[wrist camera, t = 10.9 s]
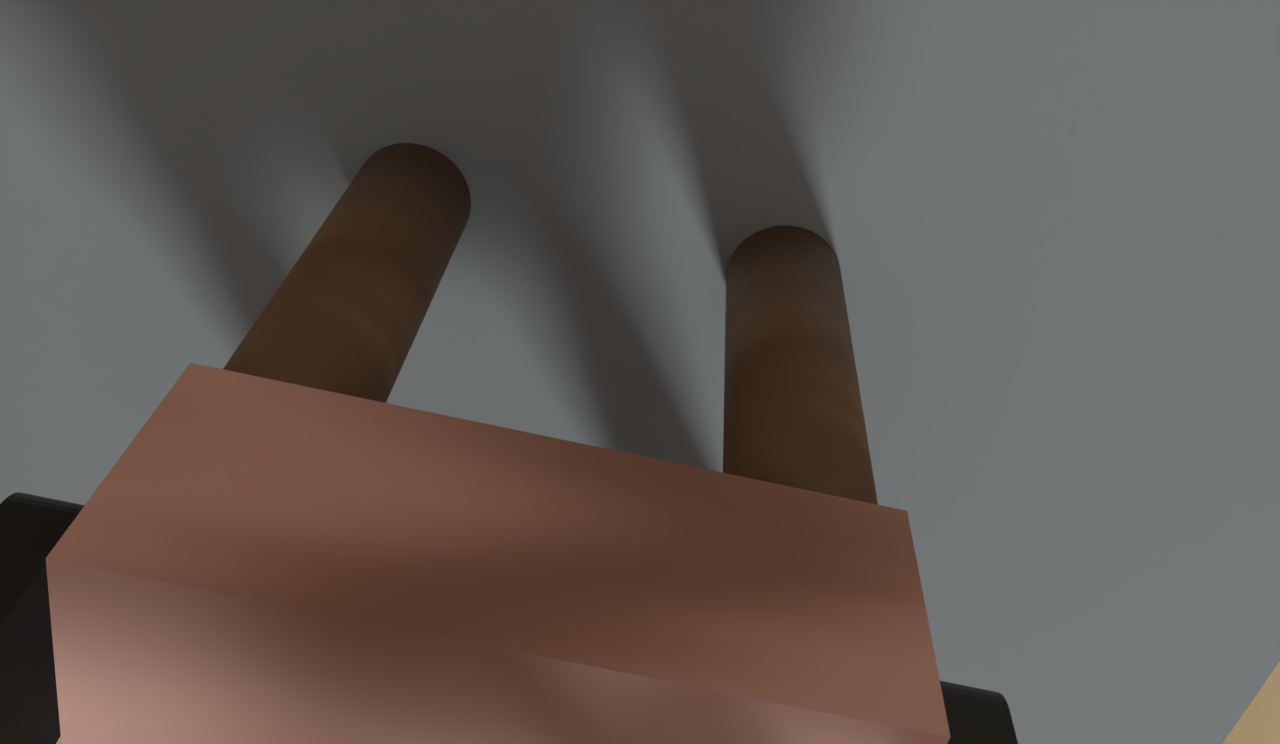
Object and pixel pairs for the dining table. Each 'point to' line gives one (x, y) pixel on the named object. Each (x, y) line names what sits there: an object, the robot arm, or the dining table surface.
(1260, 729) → the dining table surface
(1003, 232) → the mat
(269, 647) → the stool
